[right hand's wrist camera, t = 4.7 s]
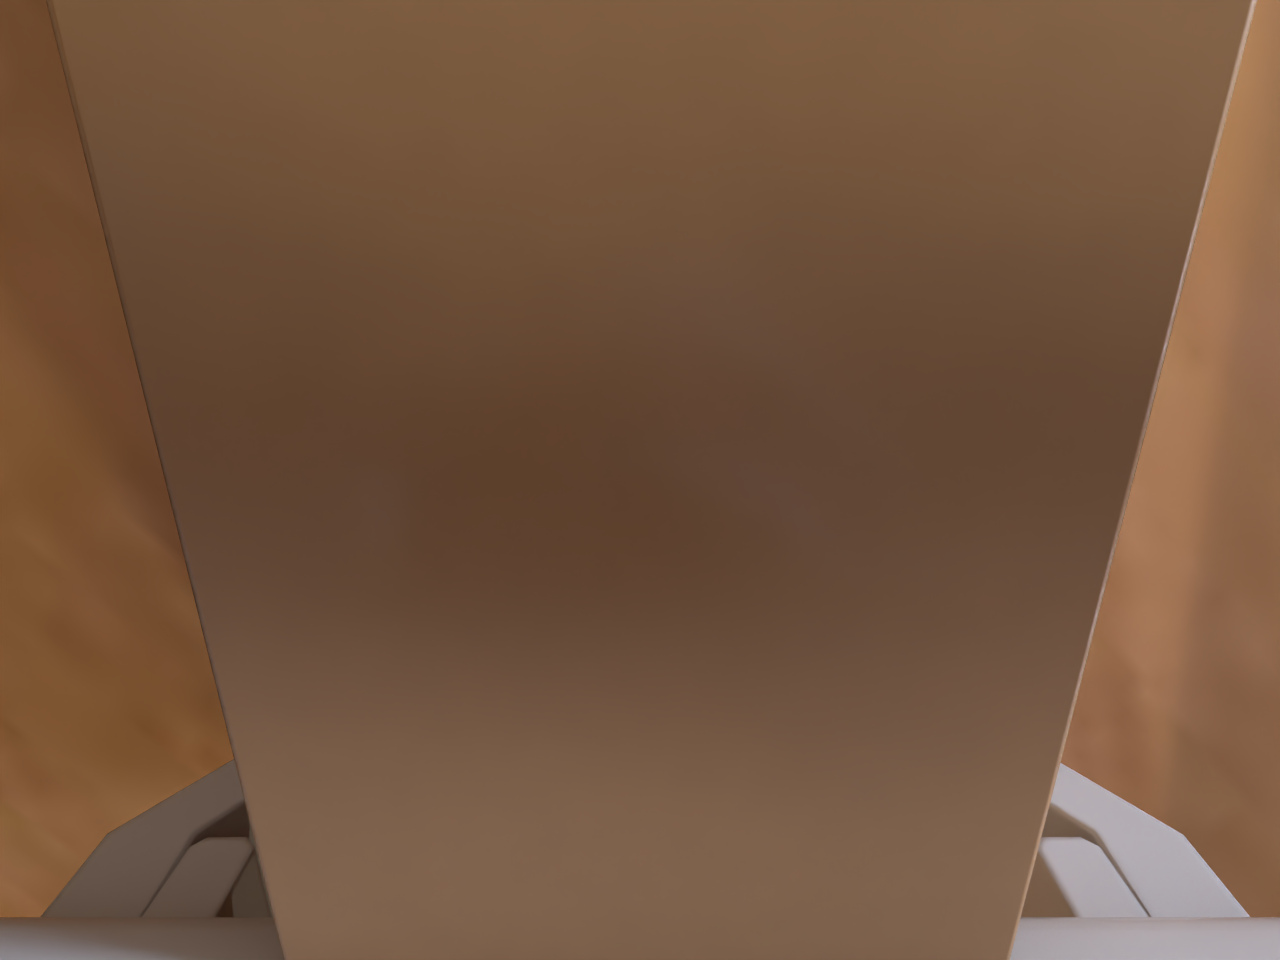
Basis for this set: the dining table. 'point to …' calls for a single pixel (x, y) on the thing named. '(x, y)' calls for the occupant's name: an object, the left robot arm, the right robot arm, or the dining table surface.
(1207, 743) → the dining table surface
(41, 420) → the dining table surface
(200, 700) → the dining table surface
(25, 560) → the dining table surface
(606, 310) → the post
